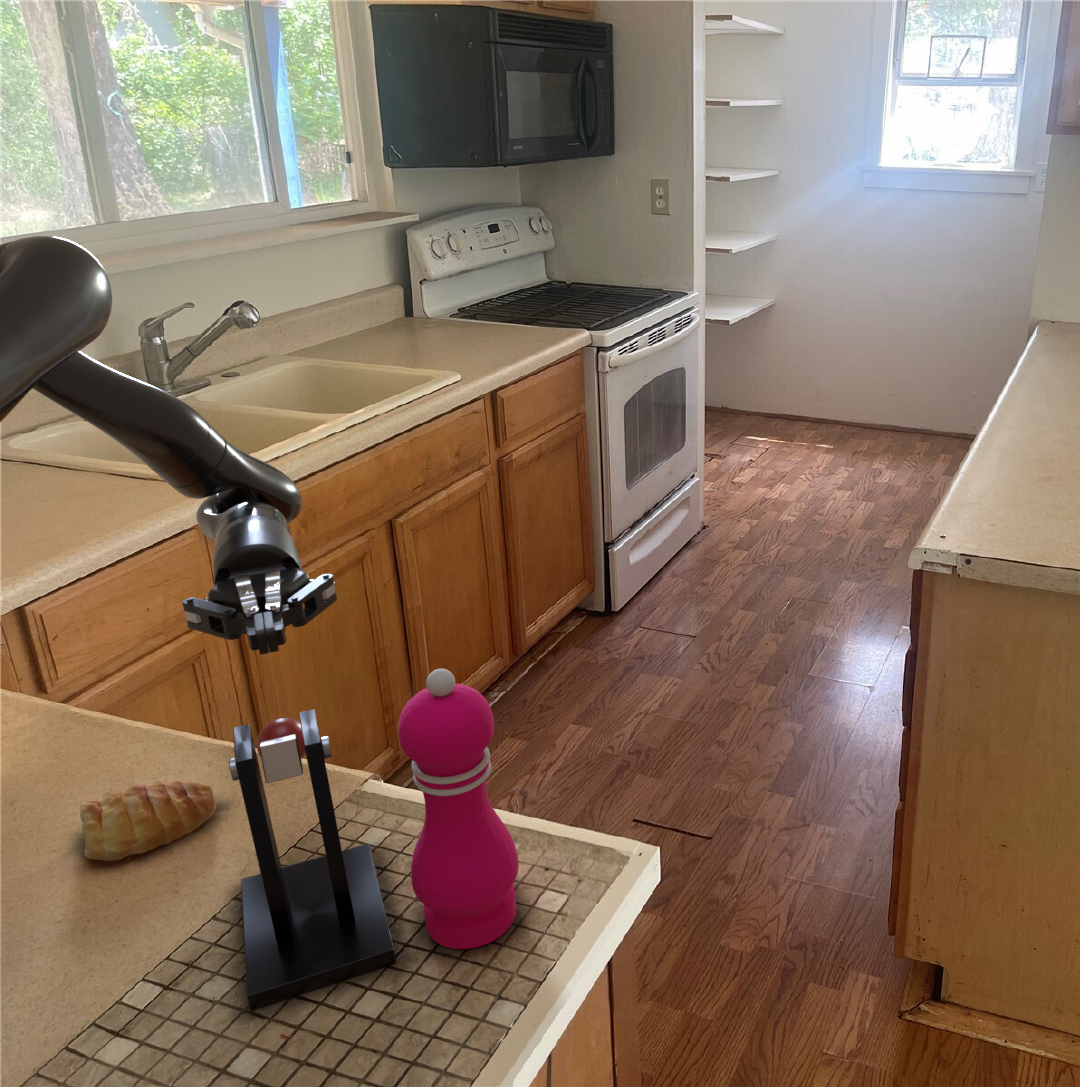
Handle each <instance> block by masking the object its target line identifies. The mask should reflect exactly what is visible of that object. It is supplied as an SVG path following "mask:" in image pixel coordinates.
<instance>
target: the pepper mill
mask: <svg viewBox="0 0 1080 1087" xmlns="http://www.w3.org/2000/svg"><path fill="white" fill-rule="evenodd" d="M425 684H426V688H424V689H422V690H420V691H418V692H417V693H416V694H414V695H413V696H412V697H411V698H410V699H409V700H408V701H407V703H406V704H405V705H404V707H403V709H402V711H401V713H400V716H399V718H398V728H397V731H398V740H399V744H400V747H401V748H402V751H403V752H404V754H405V755H406V756H407V757H408V758H409V759H410V760H411V771H412V773H413V775H412V780H413V783H414V785H415V786H416V787H417V789H418V790H420V791H421V792H422V795H423V799H424V810H425V814H424V815H425V816H424V823H423V825H422V829H421V830H420V834H419V836H418V839H417V841H416V844H415V847H414V849H413V852H412V853H413V854H412V859H411V862H410V877H411V880H410V881H411V886H412V890H413V893H414V895H415V896H416V898H417V899H418V901H420V902H421V903H422V904H423V909H422V910H423V915H424V922H425V928H426V931H427V934H428V935H429V937H430V939H432V940H433V941H434V942H435V943H436V944H439V945H440V946H442V947H445V948H449V949H453V950H469V949H476V948H480V947H482V946H486V945H488V944H490V943H493V942H494V941H495V940H497V939H499V938H501V936H503V935H504V934H505V933H506V932H507V931H508V930H509V929H510V927H511V926H512V924H513V923H514V920H515V919H516V915H517V900H516V892H515V891H516V890H515V886H514V883H515V882H516V880H517V876H518V874H519V866H520V862H519V857H518V852H517V851H518V850H517V846H516V844H515V841H514V839H513V837H512V835H511V832H510V830H509V829H508V828H507V826H506V825H505V823H504V822H503V820H502V819H501V817H500V816H499V815H498V813H497V812H496V810H495V809H494V807H493V806H492V803H491V801H490V799H489V795H488V791H487V786H486V780H487V779H488V778H489V776H490V774H491V772H492V763H491V760H490V759H491V753H490V752H491V751H490V748H488V746H489V744H490V743H491V741H492V738H493V736H494V733H495V719H494V713H493V710H492V708H491V706H490V704H489V702H488V701H487V698H486V697H485V696H483V694H482V693H481V692H480V691H478V690H477V689H475V688H474V687H471V686H468V685H465V684H462V683H456V678H455V675H454V674H453V673H452V672H451V671H450V670H448V669H446V668H437V669H434V670H432V672H430V673H429V675H428V676H427V678H426V683H425Z"/></svg>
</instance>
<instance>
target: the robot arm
mask: <svg viewBox="0 0 1080 1087" xmlns="http://www.w3.org/2000/svg"><path fill="white" fill-rule="evenodd" d="M112 308H113V293H112V287H111V283H110V279H109V276H108V274H107V273H106V271H105V268H104V267H103V265H102V264H101V263H100V262H99V260H98V259H97V258H96V257H95V256H94V255H93V254H92V253H91V252H90V251H88V250H87V249H86V248H84V247H83V246H82V245H79V244H78V243H76V242H74V241H71V240H69V239H66V238H63V237H59V236H58V237H57V236H53V235H34V236H27V237H21V238H18V239H15V240H12V241H8V242H4V243H1V244H0V423H2V422H3V421H4V419H6V418H7V417H8V415H9V414H11V412H12V411H14V409H15V408H16V407H17V406H18V405H19V404H20V403H21V401H22V400H23V399H24V398H25V397H26V396H27V395H28V394H29V393H30V391H32V390H34V391H36V392H38V393H39V394H40V395H42V396H44V397H45V398H47V399H49V400H51V401H52V402H54V403H55V404H57V405H58V406H60V407H62V408H64V409H66V411H68V412H70V413H72V414H74V415H75V416H77V417H79V419H82V420H83V421H85V422H87V423H88V424H90V425H92V426H93V427H95V428H97V429H98V430H100V431H101V432H103V433H104V434H106V435H107V436H109V437H110V438H112V439H113V440H115V441H116V442H117V443H118V444H120V445H121V446H122V447H124V448H125V449H127V450H128V451H129V452H130V453H131V454H133V455H134V456H136V457H137V459H139V460H140V461H141V462H142V463H143V464H144V465H146V466H147V468H149V469H150V470H151V471H153V472H154V473H155V474H156V475H158V477H159V478H161V479H162V480H163V481H164V482H166V483H167V484H168V485H169V486H171V488H173V489H174V490H175V491H176V492H177V493H179V494H181V495H182V496H183V497H186V498H189V499H196V500H198V499H199V500H201V499H204V500H203V501H202V502H201V504H200V505H199V506H198V508H197V511H196V516H195V519H196V524H197V526H198V528H199V530H200V531H201V533H202V534H203V535H204V537H206V539H207V540H208V541H209V542H210V543H211V544H212V545H213V546H214V549H213V557H212V558H213V560H212V562H213V587H211V588H210V590H209V591H208V593H207V597H206V598H202V599H201V598H197V597H187V598H184V599H183V600H182V601H181V603H182V607H183V608H182V609H183V612H184V616H185V620H186V624H187V628H188V629H191V630H194V631H196V632H201V633H204V634H207V635H210V636H214V637H217V638H220V639H224V640H228V641H234V640H237V639H239V638H241V637H242V635H246V638H247V642H248V646H249V649H250V650H251V651H252V652H253V651H258V652H259V655H266V654H270V653H276V652H279V651H280V649H279V646H283V645H286V643H287V636H286V635H287V634H286V628H287V627H288V626H292V627H293V628H301V627H303V626H306V625H307V624H308V623H310V622H311V621H312V620H313V619H315V618H316V617H317V616H319V615H320V614H321V613H323V612H324V611H325V610H326V609H328V608H329V607H330V606H332V605H333V604H335V602H337V600H338V597H337V590H336V585H335V580H334V575H333V574H332V573H322V574H320V575H319V576H318V577H316V578H315V579H313V578H312V579H311V576H310V575H309V574H308V573H307V572H305V571H303V569H302V565H301V558H300V556H299V552H298V548H297V545H296V542H295V541H294V538H293V537H292V533H291V528H290V525H289V524H290V523H292V522H293V521H294V520H295V519H296V518H298V516H299V514H300V513H301V510H302V507H303V506H302V505H303V500H302V499H303V498H302V495H301V492H300V490H299V487H298V486H297V485H296V483H295V482H294V481H293V480H292V479H291V478H290V477H289V476H288V475H287V474H285V473H284V472H283V471H281V470H279V469H278V468H277V467H275V466H274V465H272V464H270V463H268V462H265V461H263V460H261V459H260V458H257V457H254V456H253V455H251V454H249V453H247V452H245V451H243V450H241V449H240V448H238V447H236V446H235V445H234V444H232V443H230V442H229V441H228V440H227V439H226V438H225V437H224V436H223V435H221V433H220V432H219V431H218V430H216V428H215V427H214V426H213V425H212V424H210V422H208V421H207V419H206V418H204V417H203V415H201V414H200V413H199V412H198V411H197V410H196V409H194V408H193V407H192V406H191V405H189V404H188V403H186V402H185V401H183V400H181V399H180V398H178V397H177V396H175V395H173V394H171V393H169V392H167V391H165V390H163V389H161V388H159V387H156V386H154V385H151V384H149V383H146V382H145V381H141V380H140V379H138V378H137V379H136V378H134V377H132V376H129V375H127V374H124V373H122V372H119V371H117V370H115V369H113V368H111V367H109V366H107V365H105V364H103V363H101V362H100V361H97V360H95V359H94V358H92V357H90V356H88V355H87V354H85V353H83V352H82V350H83V349H84V348H86V347H87V346H88V345H90V344H91V343H93V342H94V341H95V340H97V339H98V338H99V337H100V336H101V335H102V333H103V331H104V330H105V329H106V327H107V325H108V323H109V320H110V317H111V314H112Z"/></svg>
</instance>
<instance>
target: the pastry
mask: <svg viewBox="0 0 1080 1087" xmlns="http://www.w3.org/2000/svg"><path fill="white" fill-rule="evenodd" d="M216 807H217V805H216V800H215V797H214V793H213V789H212V787H211V786H210V785H207V784H201V783H199V782H191V781H190V782H183V781H180V780H176V781H171V782H168V783H167V782H166V783H164V782H161V781H155V782H152V783H150V784H138V783H131V784H130V785H128V786H127V787H126V788H125V789H124V790H120V789H108V790H105V792H103V794H102V795H101V796H100V798H99V799H95V800H94V799H93V800H92V799H91V800H88V799H87V800H85V801H83V802H81V804H80V810H79V812H80V814H79V816H80V821H81V824H82V830H83V835H84V846H85V849H84V857H85V858H86V859H89V860H95V861H96V860H97V861H104V862H113V861H114V862H115V861H123V859H124V858H125V857H127V856H131V855H136V854H137V855H141V854H144V853H147V852H150V851H152V850H155V849H156V848H157V847H160V846H163V845H166V844H170V843H171V842H172V841H174V840H180V838H182V837H184V836H186V835H189V834H191V833H192V832H194V830H196V829H198V828H199V827H200V826H201V825H202V824H203V823H205V822H206V821H208V820H210V819H211V818H212V817H213V815H214V813H215V812H216V809H217V808H216Z"/></svg>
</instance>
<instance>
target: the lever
mask: <svg viewBox="0 0 1080 1087" xmlns="http://www.w3.org/2000/svg"><path fill="white" fill-rule="evenodd" d="M256 752H257V753H258V755H259V757H260V759H261V760H260V761H261V765H262V769H263V775H264V780H265V783H266V784H270V783H274V782H278V781H283V780H287V779H292V778H294V777H299V776H302V775H303V774H304V768H303V763H302V760H303V758H304V757H305V756H306V752H305V747H304V741H303V735H302V729H301V723H300V720H297V719H294V718H292V717H291V718H290V717H279V718H275V719H273V720H271V721H269V722H268V723H266V724H265V725H264V726H263V727H262V728H261V729H260V731H259V733H258V734H257V738H256Z"/></svg>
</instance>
